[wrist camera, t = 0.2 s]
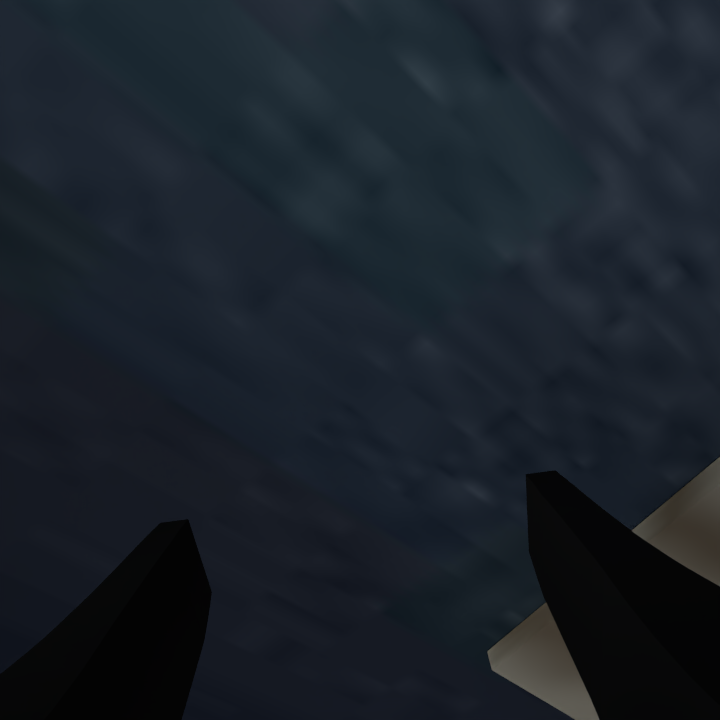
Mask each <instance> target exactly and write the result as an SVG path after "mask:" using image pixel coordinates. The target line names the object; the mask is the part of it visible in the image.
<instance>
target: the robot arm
mask: <svg viewBox="0 0 720 720" xmlns="http://www.w3.org/2000/svg"><path fill="white" fill-rule="evenodd" d="M526 491H527V515H528V539H529V553H530V556H531V559H532V562H533V566H534V569H535V572H536V575H537V578H538V581H539V584H540V587H541V590H542V593H543V596H544V598H545V601H546V603H547V605H548V607H549V610H550V612H551V614H552V616H553V618H554V621H555V623H556V625H557V627H558V629H559V631H560V634H561V636H562V638H563V640H564V642H565V644H566V647H567V649H568V651H569V653H570V655H571V657H572V659H573V662H574V664H575V666H576V668H577V670H578V672H579V675H580V677H581V679H582V681H583V683H584V685H585V687H586V690H587V692H588V694H589V696H590V698H591V701H592V703H593V705H594V708H595V710H596V713H597V715H598V717H599V720H720V586H718V585H717V584H715V583H713V582H711V581H710V580H708V579H706V578H704V577H703V576H701V575H699V574H697V573H696V572H694V571H692V570H690V569H688V568H687V567H685V566H684V565H682V564H680V563H679V562H677V561H675V560H674V559H672V558H671V557H669V556H668V555H666V554H665V553H663V552H662V551H660V550H659V549H657V548H656V547H654V546H653V545H651V544H650V543H648V542H647V541H645V540H644V539H642V538H641V537H639V536H638V535H637V534H635V533H634V532H633V531H631V530H630V529H629V528H627V527H626V526H625V525H623V524H622V523H621V522H619V521H618V520H616V519H615V518H614V517H612V516H611V515H610V514H609V513H607V512H606V511H605V510H603V509H602V508H601V507H600V506H598V505H597V504H596V503H595V502H593V501H592V500H591V499H590V498H588V497H587V496H586V495H585V494H584V493H582V492H581V491H580V490H579V489H578V488H576V487H575V486H574V485H573V484H571V483H570V482H569V481H568V480H567V479H565V478H564V477H563V476H562V475H560V474H559V473H558V472H557V471H547V472H540V473H532V474H526ZM211 593H212V592H211V589H210V585H209V582H208V579H207V576H206V573H205V570H204V567H203V564H202V561H201V558H200V554H199V551H198V548H197V545H196V542H195V539H194V536H193V533H192V530H191V527H190V523H189V520H188V519H187V520H179V521H172V522H164V523H160V524H159V525H158V526H157V527H156V528H155V529H154V530H153V531H152V532H151V533H150V534H149V535H148V536H147V537H146V538H145V539H144V540H143V541H142V542H141V543H140V544H139V545H138V546H137V547H136V548H135V549H134V550H133V551H132V552H131V553H130V554H129V555H128V556H127V557H126V558H125V560H124V561H123V562H122V563H121V564H120V565H119V566H118V567H117V568H116V569H115V570H114V571H113V572H112V573H111V574H110V575H109V576H108V577H107V578H106V579H105V580H104V581H103V582H102V583H101V584H100V585H99V586H98V587H97V588H96V589H95V590H94V591H93V592H92V593H91V594H90V595H89V596H88V597H87V598H86V599H85V600H84V601H83V602H82V603H81V604H80V605H79V606H78V607H77V608H76V609H75V610H73V611H72V612H71V613H70V614H69V615H68V616H67V617H66V618H65V619H64V620H63V621H62V622H61V623H60V624H59V625H58V626H57V627H56V628H54V629H53V630H52V631H51V632H50V633H49V634H48V635H47V636H46V637H45V638H43V639H42V640H41V641H40V642H39V643H38V644H36V645H35V646H34V647H33V648H32V649H31V650H30V651H28V652H27V653H26V654H25V655H23V656H22V657H21V658H20V659H19V660H17V661H16V662H15V663H14V664H12V665H11V666H10V667H9V668H8V669H6V670H5V671H4V672H3V673H1V674H0V720H181V719H182V716H183V712H184V709H185V706H186V702H187V699H188V695H189V692H190V688H191V685H192V682H193V678H194V675H195V671H196V668H197V664H198V661H199V657H200V654H201V650H202V646H203V643H204V639H205V633H206V627H207V621H208V615H209V608H210V600H211Z"/></svg>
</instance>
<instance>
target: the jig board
mask: <svg viewBox="0 0 720 720" xmlns="http://www.w3.org/2000/svg"><path fill="white" fill-rule="evenodd" d="M632 531H633V532H634V533H635V534H637V535H638V536H639V537H641V538H642V539H644V540H645V541H647V542H648V543H650V544H651V545H653V546H654V547H656V548H657V549H659V550H660V551H662V552H663V553H665V554H666V555H668V556H669V557H671V558H672V559H674V560H675V561H677V562H679V563H680V564H682V565H684V566H685V567H687V568H688V569H690V570H692V571H694V572H696V573H697V574H699V575H701V576H703V577H704V578H706V579H708V580H710V581H711V582H713V583H715V584H717V585H718V586H720V457H719V458H718V459H717V460H715V461H714V462H713V463H712V464H711V465H709V466H708V467H707V468H706V469H705V470H703V471H702V472H701V473H700V474H699V475H697V476H696V477H695V478H694V479H693V480H692V481H690V482H689V483H688V484H687V485H686V486H684V487H683V488H682V489H681V490H680V491H678V492H677V493H676V494H675V495H674V496H672V497H671V498H670V499H669V500H668V501H666V502H665V503H664V504H663V505H662V506H660V507H659V508H658V509H657V510H656V511H654V512H653V513H652V514H651V515H650V516H648V517H647V518H646V519H645V520H644V521H643V522H641V523H640V524H639V525H638V526H637V527H635V528H634V529H633V530H632ZM487 652H488V656H489V660H490V664H491V668H492V670H493V671H495V672H496V673H498V674H500V675H501V676H503V677H505V678H506V679H508V680H510V681H511V682H513V683H515V684H516V685H518V686H520V687H521V688H523V689H525V690H527V691H528V692H530V693H532V694H533V695H535V696H537V697H538V698H540V699H542V700H543V701H545V702H547V703H548V704H550V705H552V706H554V707H555V708H557V709H559V710H560V711H562V712H564V713H565V714H567V715H569V716H570V717H572V718H574V719H575V720H599V717H598V715H597V713H596V710H595V708H594V705H593V703H592V701H591V698H590V696H589V694H588V692H587V690H586V687H585V685H584V683H583V681H582V679H581V677H580V675H579V672H578V670H577V668H576V666H575V664H574V662H573V659H572V657H571V655H570V653H569V651H568V649H567V647H566V644H565V642H564V640H563V638H562V636H561V634H560V631H559V629H558V627H557V625H556V623H555V621H554V618H553V616H552V614H551V612H550V610H549V607H548V605H547V603H545V604H543V605H542V606H541V607H540V608H539V609H537V610H536V611H535V612H534V613H533V614H531V615H530V616H529V617H528V618H527V619H525V620H524V621H523V622H522V623H521V624H519V625H518V626H517V627H516V628H515V629H513V630H512V631H511V632H510V633H509V634H508V635H506V636H505V637H504V638H503V639H502V640H500V641H499V642H498V643H497V644H496V645H494V646H493V647H492V648H491V649H490V650H488V651H487Z"/></svg>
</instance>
